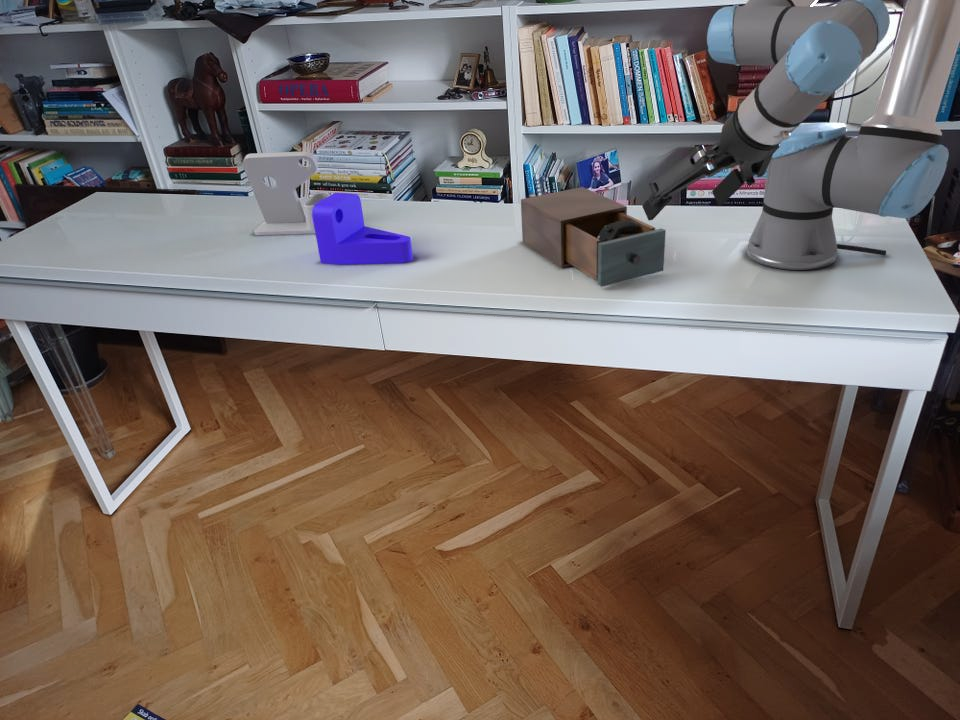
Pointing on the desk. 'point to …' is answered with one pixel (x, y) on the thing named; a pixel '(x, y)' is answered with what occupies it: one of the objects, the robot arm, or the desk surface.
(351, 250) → the bracket
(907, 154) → the robot arm
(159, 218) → the desk surface
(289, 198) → the phone holder
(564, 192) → the cabinet
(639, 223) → the drawer
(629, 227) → the gaming controller
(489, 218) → the desk surface
